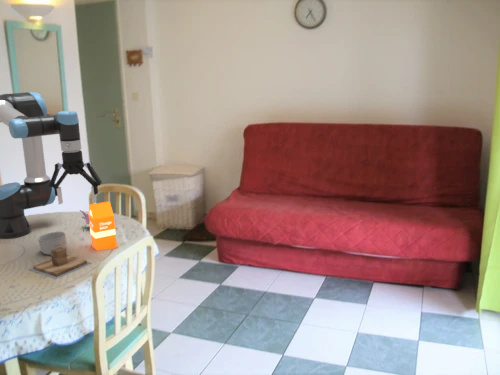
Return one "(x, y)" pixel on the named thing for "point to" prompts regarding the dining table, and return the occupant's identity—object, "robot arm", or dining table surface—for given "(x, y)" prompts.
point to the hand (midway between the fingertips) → (77, 202)
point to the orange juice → (102, 226)
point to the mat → (60, 275)
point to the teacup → (52, 241)
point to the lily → (86, 218)
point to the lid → (59, 263)
